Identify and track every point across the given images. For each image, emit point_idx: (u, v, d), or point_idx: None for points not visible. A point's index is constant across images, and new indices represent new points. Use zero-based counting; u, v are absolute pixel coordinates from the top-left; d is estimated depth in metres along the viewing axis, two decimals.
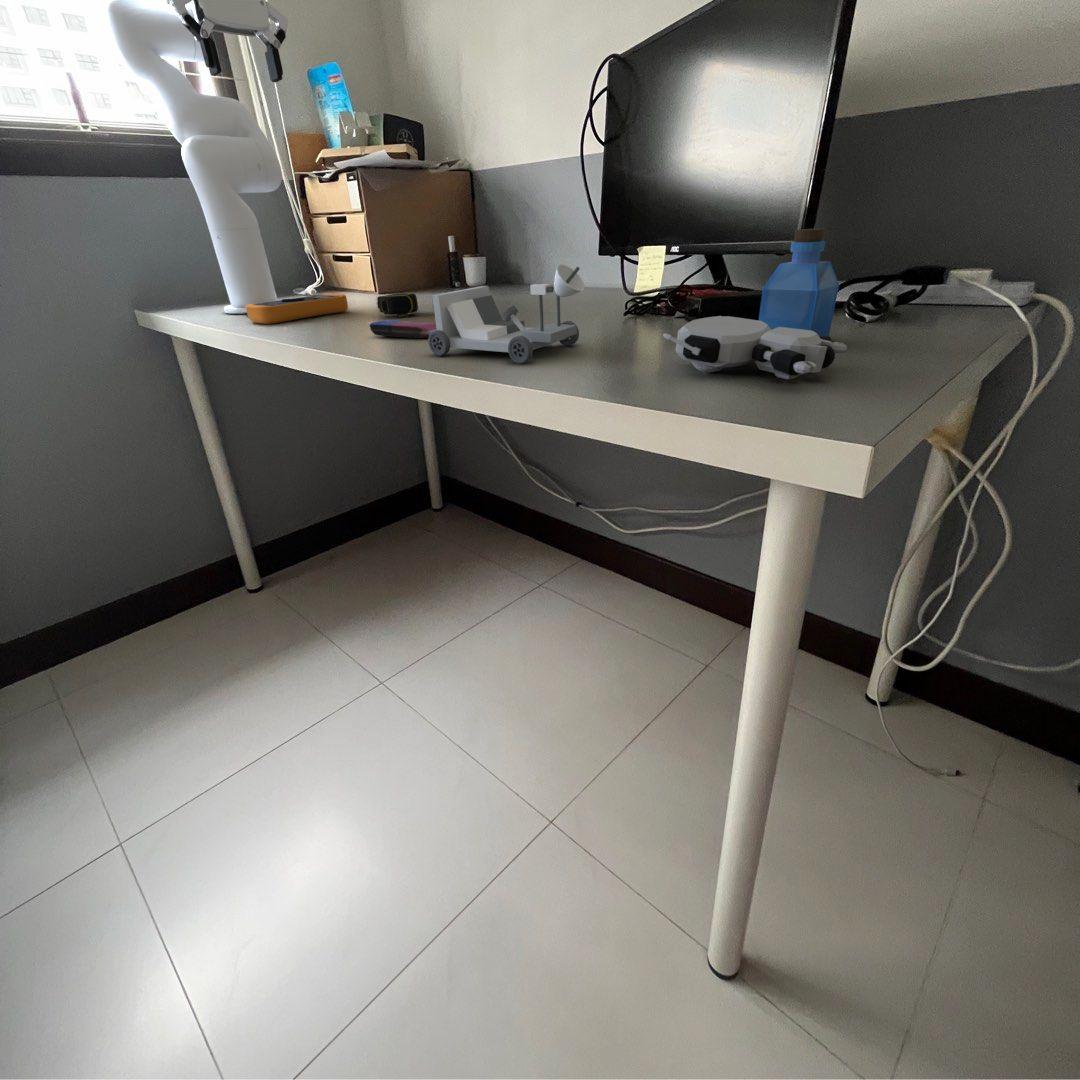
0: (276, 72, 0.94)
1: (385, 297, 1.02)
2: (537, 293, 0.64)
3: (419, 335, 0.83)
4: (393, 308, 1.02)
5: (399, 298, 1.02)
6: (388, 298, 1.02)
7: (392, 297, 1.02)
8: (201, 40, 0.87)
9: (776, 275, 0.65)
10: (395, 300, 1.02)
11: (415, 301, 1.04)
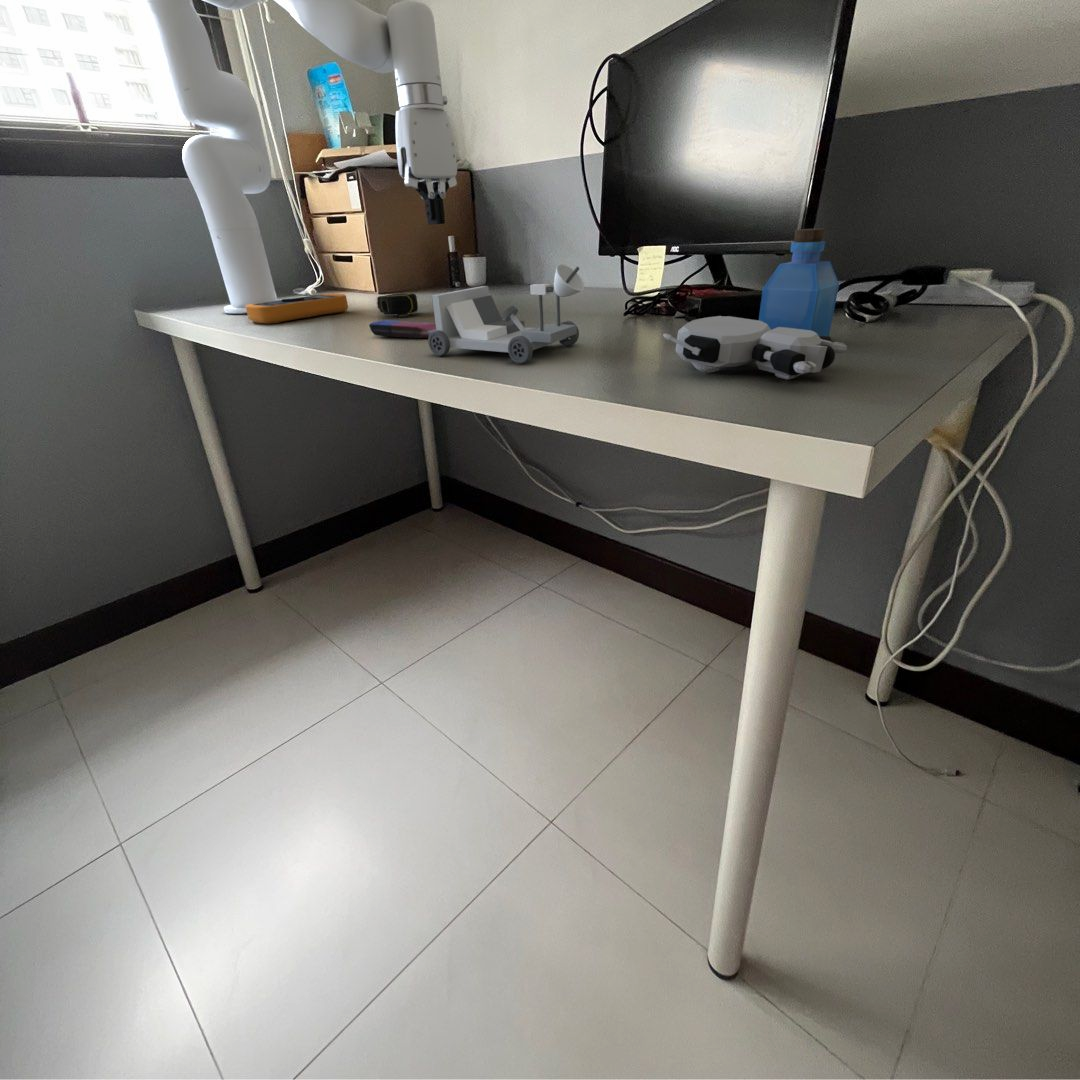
0: (440, 218, 1.05)
1: (385, 297, 1.02)
2: (537, 293, 0.64)
3: (419, 335, 0.83)
4: (393, 308, 1.02)
5: (399, 298, 1.02)
6: (388, 298, 1.02)
7: (392, 297, 1.02)
8: (427, 199, 1.03)
9: (776, 275, 0.65)
10: (395, 300, 1.02)
11: (415, 301, 1.04)
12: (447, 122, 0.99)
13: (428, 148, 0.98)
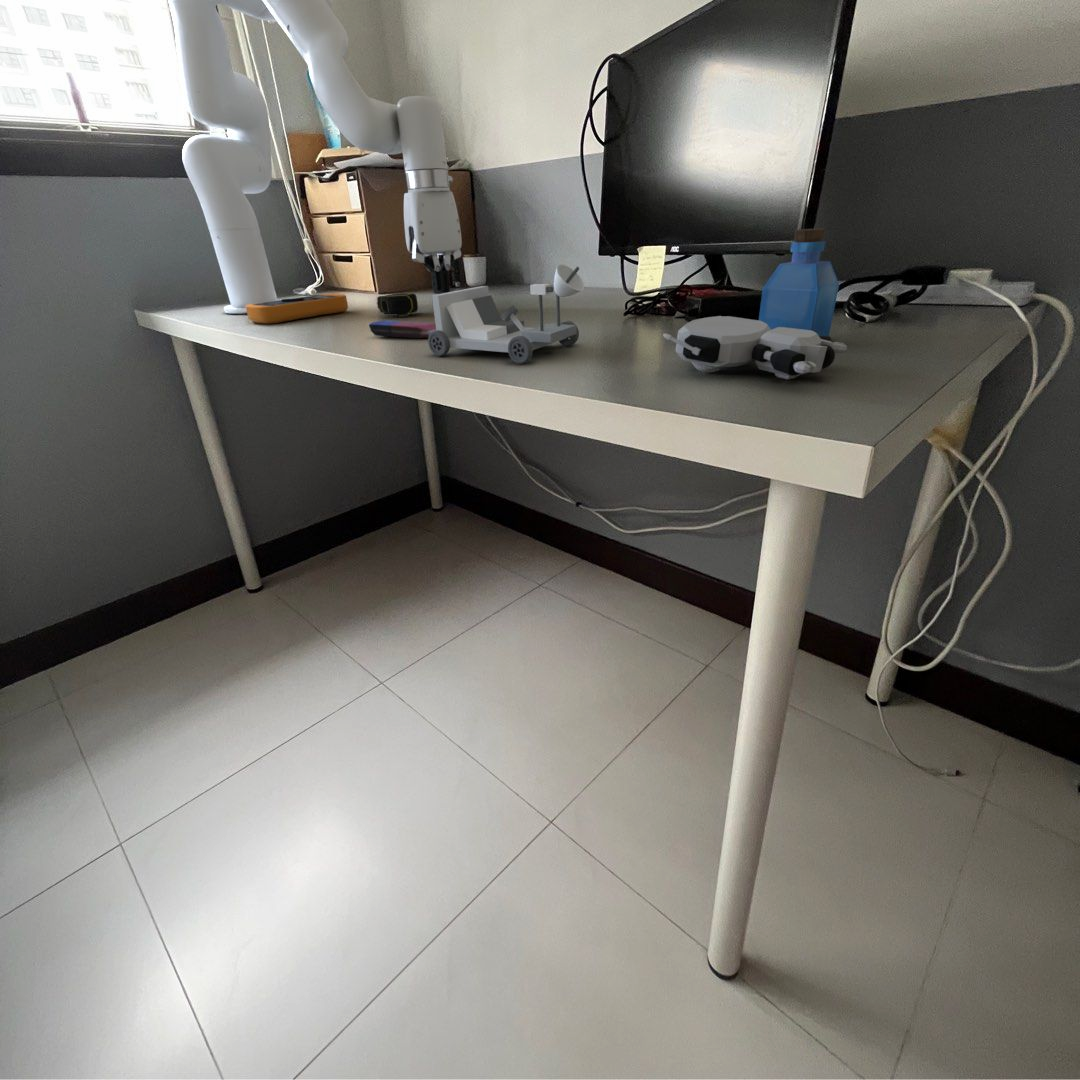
0: None
1: (385, 297, 1.02)
2: (537, 293, 0.64)
3: (419, 335, 0.83)
4: (393, 308, 1.02)
5: (399, 298, 1.02)
6: (388, 298, 1.02)
7: (392, 297, 1.02)
8: (433, 272, 1.09)
9: (776, 275, 0.65)
10: (395, 300, 1.02)
11: (415, 301, 1.04)
12: (452, 201, 1.05)
13: (435, 226, 1.04)
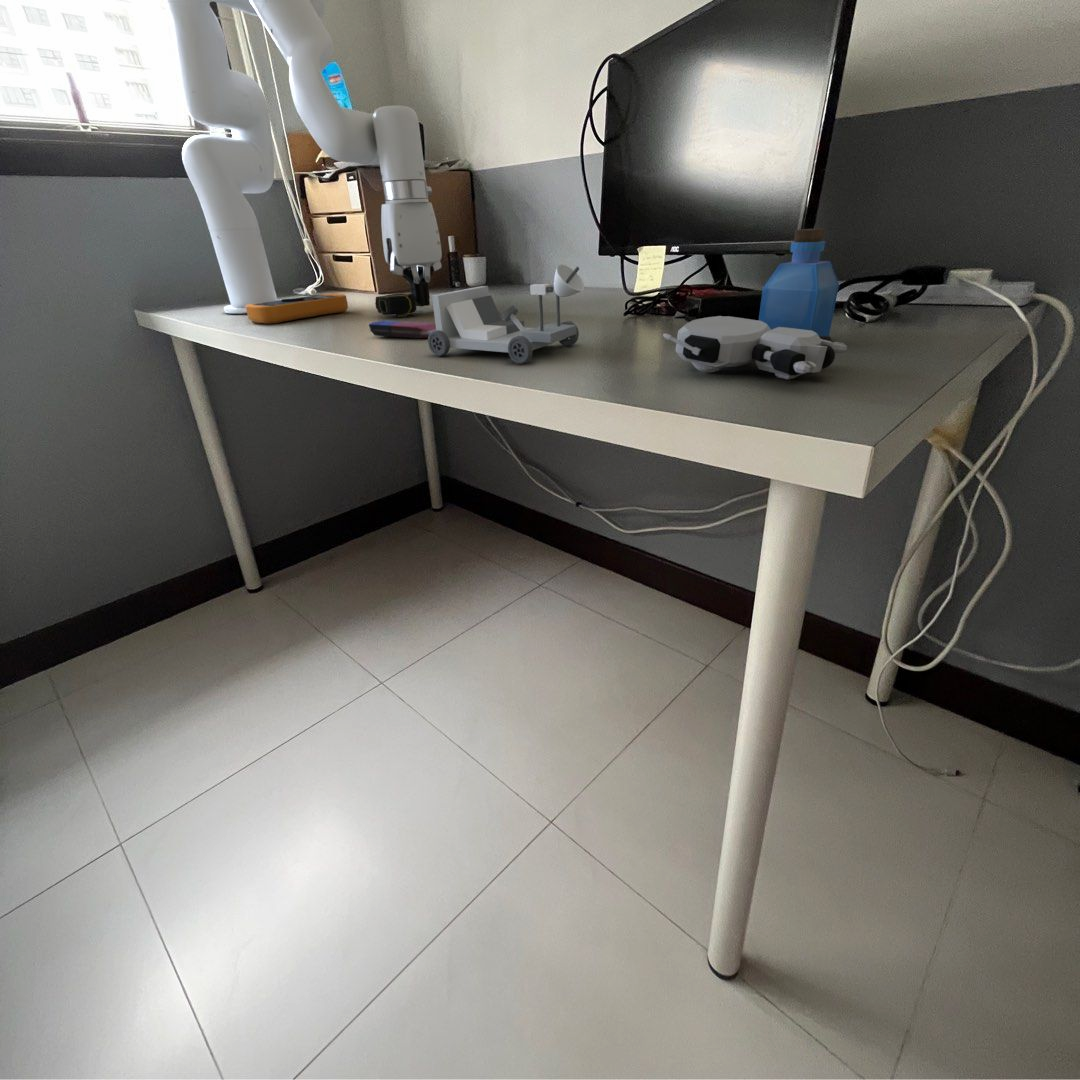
0: (425, 300, 1.08)
1: (383, 297, 1.02)
2: (537, 293, 0.64)
3: (419, 335, 0.83)
4: (392, 308, 1.02)
5: (397, 298, 1.02)
6: (386, 298, 1.02)
7: (390, 297, 1.01)
8: (412, 284, 1.06)
9: (776, 275, 0.65)
10: (394, 300, 1.01)
11: (413, 301, 1.04)
12: (431, 212, 1.03)
13: (413, 238, 1.02)
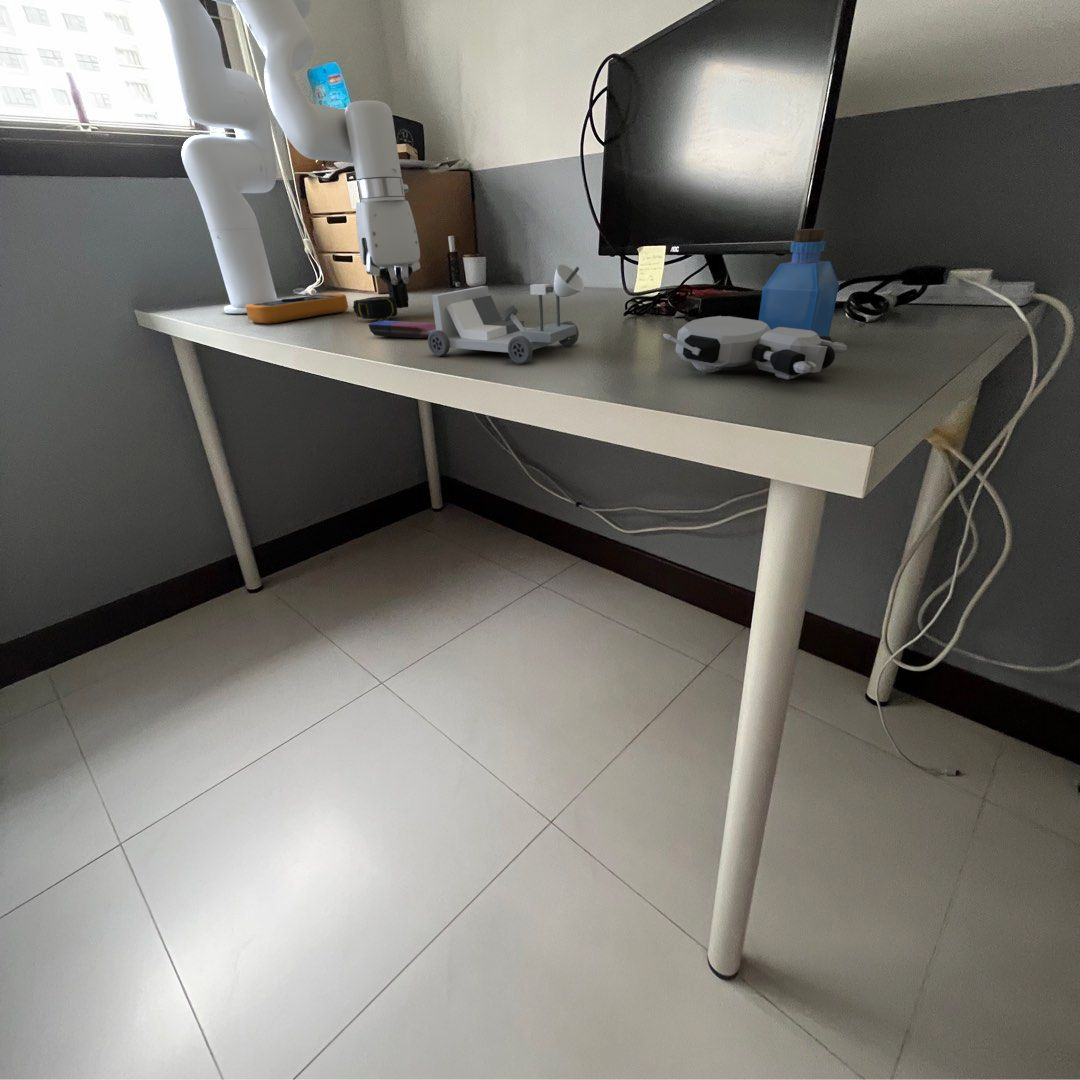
0: (404, 302, 1.05)
1: (364, 301, 0.98)
2: (537, 293, 0.64)
3: (419, 335, 0.83)
4: (374, 312, 0.99)
5: (379, 302, 0.98)
6: (368, 302, 0.98)
7: (372, 301, 0.98)
8: (390, 285, 1.03)
9: (776, 275, 0.65)
10: (376, 304, 0.98)
11: (395, 305, 1.01)
12: (408, 211, 0.99)
13: (390, 238, 0.98)
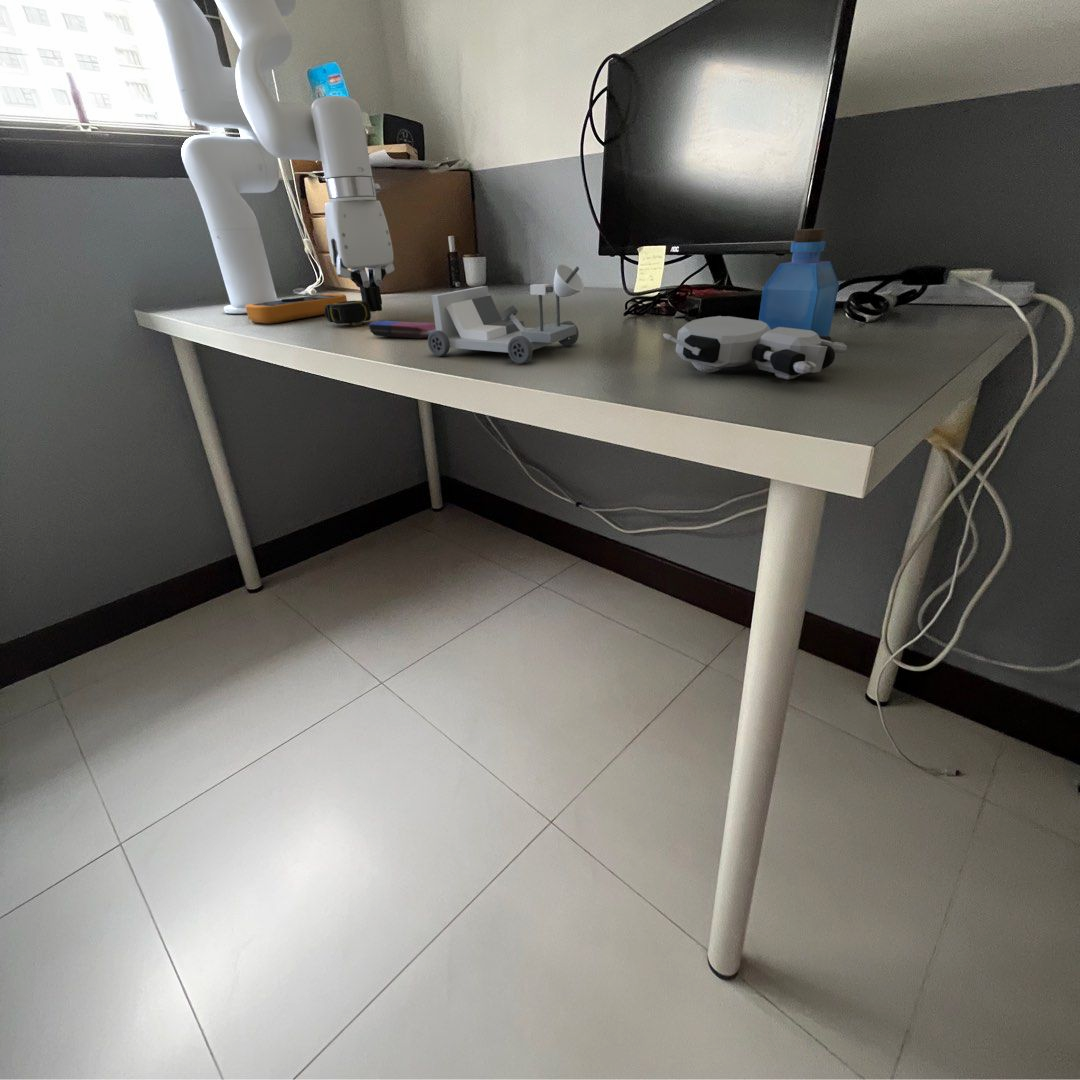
0: (377, 305, 1.01)
1: (336, 305, 0.95)
2: (537, 293, 0.64)
3: (419, 335, 0.83)
4: (347, 317, 0.95)
5: (352, 306, 0.95)
6: (340, 306, 0.95)
7: (345, 305, 0.95)
8: (362, 288, 1.00)
9: (776, 275, 0.65)
10: (348, 308, 0.95)
11: (368, 309, 0.98)
12: (380, 211, 0.96)
13: (360, 239, 0.95)
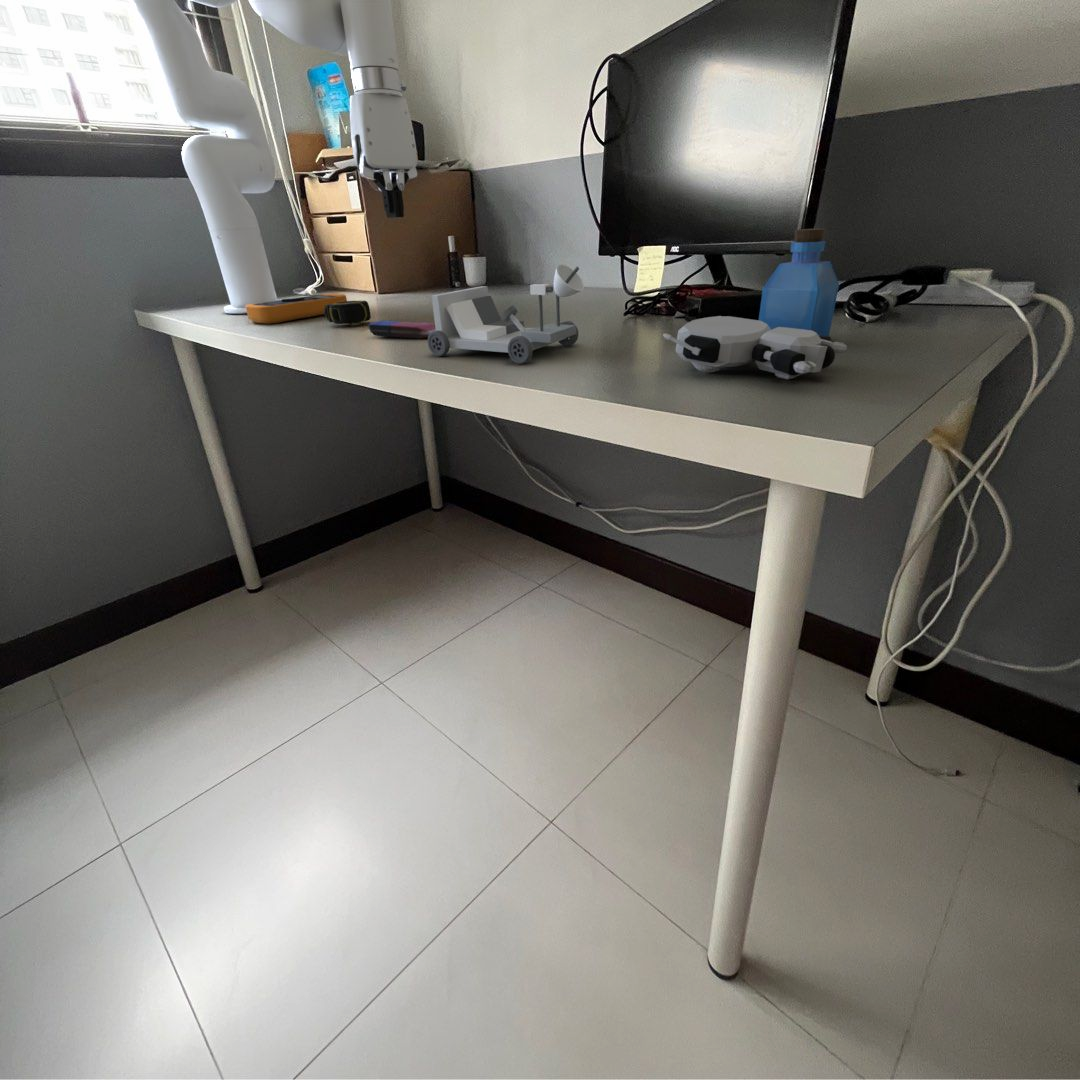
0: (399, 211, 0.99)
1: (336, 305, 0.95)
2: (537, 293, 0.64)
3: (419, 335, 0.83)
4: (346, 317, 0.95)
5: (352, 306, 0.95)
6: (340, 306, 0.95)
7: (344, 305, 0.95)
8: (384, 191, 0.98)
9: (776, 275, 0.65)
10: (348, 308, 0.95)
11: (368, 309, 0.97)
12: (405, 109, 0.94)
13: (385, 136, 0.93)
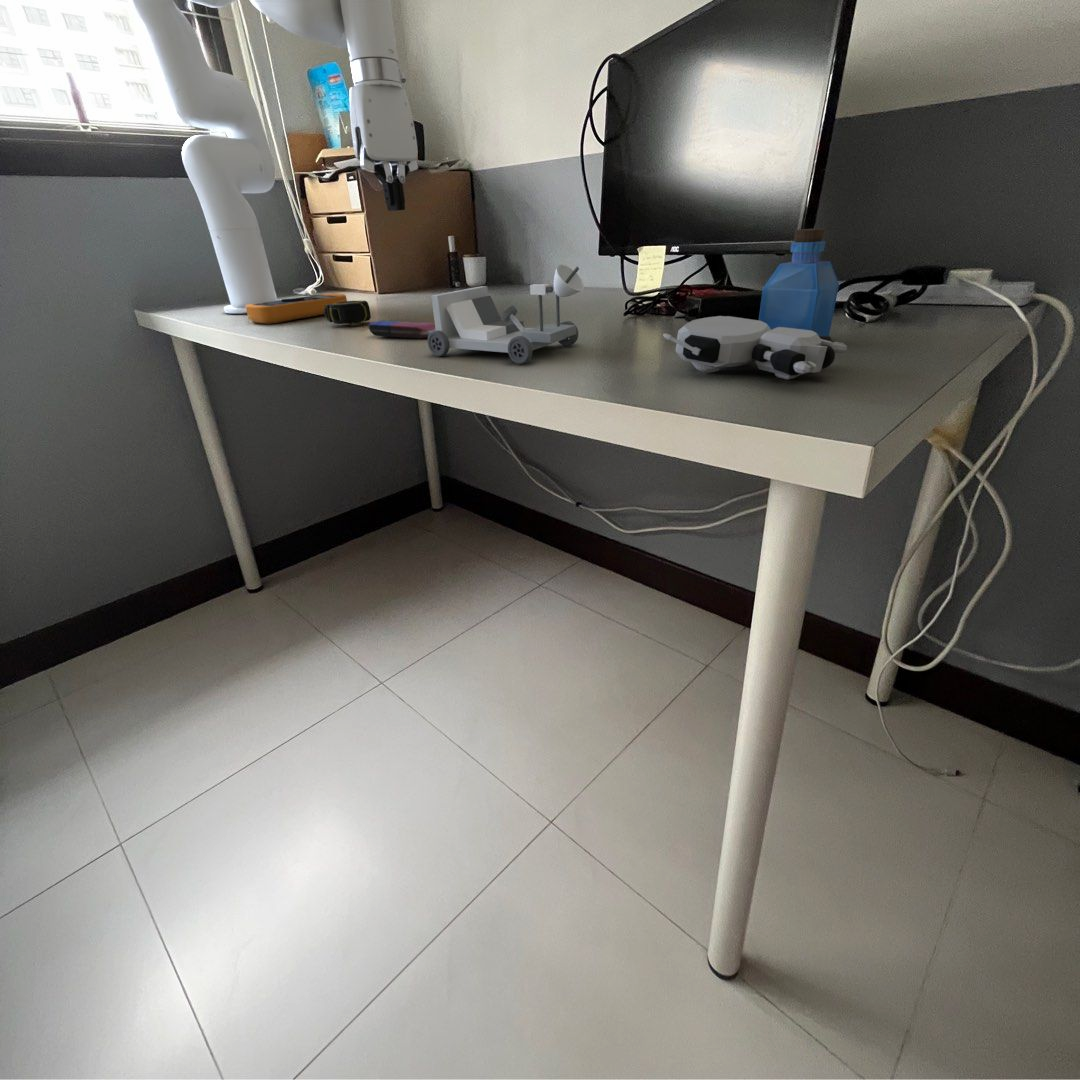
0: (400, 204, 0.99)
1: (336, 305, 0.95)
2: (537, 293, 0.64)
3: (419, 335, 0.83)
4: (346, 317, 0.95)
5: (352, 306, 0.95)
6: (340, 306, 0.95)
7: (344, 305, 0.95)
8: (385, 183, 0.97)
9: (776, 275, 0.65)
10: (348, 308, 0.95)
11: (368, 309, 0.97)
12: (405, 101, 0.93)
13: (385, 128, 0.92)
